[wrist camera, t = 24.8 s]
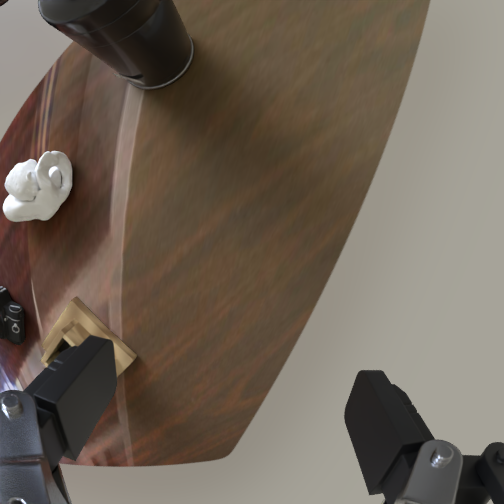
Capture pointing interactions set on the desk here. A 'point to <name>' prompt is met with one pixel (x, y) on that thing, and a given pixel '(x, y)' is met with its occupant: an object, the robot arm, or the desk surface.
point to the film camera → (11, 319)
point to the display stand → (82, 335)
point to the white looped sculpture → (38, 187)
